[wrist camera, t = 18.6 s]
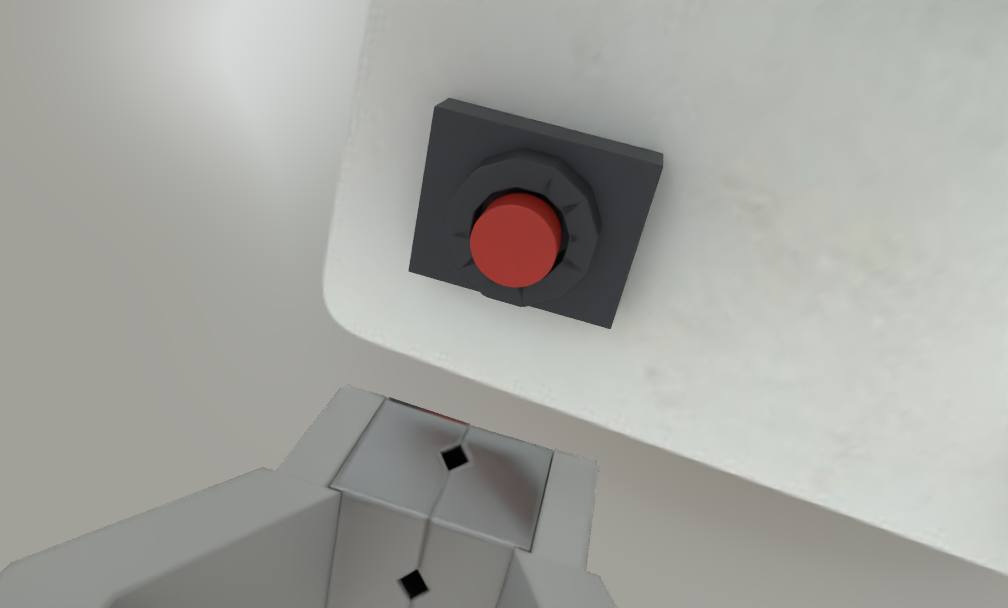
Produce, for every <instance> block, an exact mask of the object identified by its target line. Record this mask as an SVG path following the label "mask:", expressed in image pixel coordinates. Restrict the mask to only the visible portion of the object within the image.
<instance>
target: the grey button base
mask: <svg viewBox="0 0 1008 608" xmlns="http://www.w3.org/2000/svg"><path fill="white" fill-rule="evenodd" d="M662 168H663V154H662V153H658V152H655V151H651V150H647V149H643V148H639V147H635V146H632V145H628V144H624V143H620V142H616V141H612V140H609V139H605V138H601V137H597V136H593V135H589V134H585V133H582V132H578V131H574V130H570V129H566V128H562V127H559V126H555V125H551V124H547V123H543V122H539V121H536V120H532V119H528V118H524V117H520V116H516V115H513V114H509V113H505V112H501V111H497V110H493V109H490V108H486V107H482V106H478V105H474V104H470V103H466V102H463V101H459V100H455V99H451V98H448V99H446V100H445V101H443V102H441V103H440V104H438V105H436V106H435V107H434V113H433V120H432V126H431V132H430V139H429V145H428V151H427V157H426V164H425V170H424V176H423V183H422V189H421V195H420V202H419V208H418V214H417V221H416V227H415V233H414V240H413V246H412V252H411V259H410V265H409V272H413V273H416V274H420V275H423V276H427V277H430V278H434V279H437V280H440V281H444V282H447V283H451V284H454V285H458V286H461V287H465V288H468V289H472V290H475V291H479V292H480V293H482V294H483V295H484V296H486V297H488V298H492V299H495V300H499V301H502V302H506V303H509V304H513V305H516V306H520V307H522V306H523V307H525V306H531V307H535V308H538V309H542V310H545V311H549V312H552V313H556V314H559V315H563V316H566V317H570V318H573V319H577V320H580V321H584V322H587V323H591V324H594V325H598V326H601V327H605V328H608V329H611V326H612V323H613V320H614V317H615V314H616V311H617V308H618V305H619V302H620V298H621V295H622V292H623V289H624V286H625V283H626V280H627V277H628V274H629V271H630V267H631V264H632V261H633V258H634V255H635V252H636V249H637V246H638V243H639V240H640V237H641V233H642V230H643V227H644V224H645V221H646V218H647V215H648V212H649V209H650V206H651V202H652V199H653V196H654V193H655V190H656V187H657V184H658V181H659V178H660V175H661V171H662ZM510 193H526V194H530V195H533V196H536V197H538V198H540V199H542V200H543V201H545V202H546V203H547V204H548V205H549V206H550V207H551V208H552V209H553V210H554V212H555V213H556V215H557V217H558V219H559V221H560V224H561V228H562V241H561V246H560V249H559V251H558V254H557V257H556V259H555V262H554V264H553V266H552V268H551V270H550V271H549V272H548V274H547V275H546V276H545V277H544V278H542V279H541V280H540V281H538V282H536V283H534V284H532V285H529V286H525V287H508V286H503V285H501V284H498V283H496V282H494V281H492V280H491V279H489V278H488V277H487V276H485V275H484V274H483V273H482V272H481V271H480V269H479V268H478V267H477V265H476V263H475V261H474V259H473V257H472V253H471V248H470V238H471V233H472V230H473V227H474V225H475V223H476V222H477V220H478V219H479V218H480V216H481V215H482V214H483V212H484V211H485V210H486V208H487V207H488V206H489V205H490V204H491V203H492V202H493V201H494V200H496V199H497V198H499V197H501V196H503V195H506V194H510Z"/></svg>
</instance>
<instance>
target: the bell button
mask: <svg viewBox="0 0 1008 608" xmlns="http://www.w3.org/2000/svg"><path fill="white" fill-rule="evenodd" d="M561 241H562V228H561V224H560V221H559V219H558V217H557V215H556V213H555V212H554V210H553V209H552V208H551V207H550V206H549V205H548V204H547V203H546V202H545V201H543V200H542V199H540V198H538V197H536V196H533V195H530V194H526V193H510V194H506V195H503V196H501V197H499V198H497V199H496V200H494V201H493V202H492V203H491V204H490V205H489V206H488V207H487V208H486V210H485V211H484V212H483V214H482V215H481V216H480V218H479V219H478V220H477V222H476V223H475V225H474V227H473V230H472V233H471V238H470V248H471V253H472V257H473V259H474V261H475V263H476V265H477V267H478V268H479V269H480V271H481V272H482V273H483V274H484V275H485V276H487V277H488V278H489V279H491V280H492V281H494V282H496V283H498V284H501V285H503V286H508V287H525V286H529V285H532V284H534V283H536V282H538V281H540V280H541V279H542V278H544V277H545V276H546V275H547V274H548V272H549V271H550V270H551V268H552V266H553V264H554V262H555V259H556V257H557V254H558V251H559V249H560V246H561Z"/></svg>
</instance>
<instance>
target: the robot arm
mask: <svg viewBox="0 0 1008 608" xmlns="http://www.w3.org/2000/svg"><path fill="white" fill-rule="evenodd" d="M598 471H599V465H598V463H597V461H596V460H593V459H590V458H586V457H582V456H579V455H575V454H572V453H568V452H564V451H561V450H557V449H554V451H553V450H552V449H549V448H545V447H542V446H539V445H536V444H532V443H529V442H525V441H522V440H519V439H515V438H512V437H509V436H506V435H503V434H499V433H496V432H492V431H489V430H486V429H483V428H479V427H476V426H473V425H470V424H468V423H465V422H462V421H459V420H456V419H453V418H450V417H447V416H444V415H441V414H438V413H435V412H432V411H429V410H426V409H423V408H420V407H417V406H414V405H411V404H408V403H405V402H402V401H399V400H396V399H393V398H387V397H385V396H383V395H380V394H377V393H373V392H370V391H367V390H364V389H361V388H358V387H355V386H351V385H347V386H345V387H343V388H341V389H339V390H338V392H337V393H336V394H335V395H334V397H333V398H332V399H331V400H330V402H329V403H328V404H327V406H326V407H325V408H324V410H323V411H322V412H321V413H320V415H319V416H318V417H317V419H316V420H315V421H314V422H313V424H312V425H311V426H310V428H309V429H308V430H307V432H306V433H305V434H304V435H303V437H302V438H301V439H300V441H299V442H298V443H297V445H296V446H295V447H294V448H293V450H292V451H291V452H290V453H289V455H288V456H287V457H286V459H285V460H284V461H283V463H282V464H281V465H280V467H279V468H278V469H277V470H276V471H273V470H270V469H267V468H263V467H262V468H259V469H257V470H254V471H252V472H249V473H246V474H244V475H241V476H239V477H236V478H233V479H230V480H228V481H225V482H223V483H220V484H217V485H215V486H212V487H209V488H207V489H204V490H201V491H199V492H196V493H193V494H191V495H188V496H185V497H183V498H180V499H178V500H175V501H172V502H170V503H167V504H164V505H162V506H159V507H156V508H154V509H151V510H148V511H146V512H143V513H141V514H138V515H135V516H133V517H130V518H127V519H125V520H122V521H119V522H117V523H114V524H112V525H109V526H106V527H104V528H101V529H98V530H96V531H93V532H91V533H88V534H85V535H83V536H80V537H77V538H75V539H72V540H69V541H67V542H64V543H61V544H59V545H56V546H54V547H51V548H48V549H46V550H43V551H40V552H38V553H35V554H32V555H30V556H27V557H24V558H22V559H19V560H17V561H14V562H11V564H9V565H8V566H7V567H6V568H5V569H4V570H3V571H2V572H0V608H618V607H617V606H616V604H615V602H614V600H613V598H612V597H611V595H610V593H609V591H608V590H607V588H606V586H605V584H604V582H603V581H602V579H601V577H600V576H599V575H596V574H593V573H590V572H587V571H586V566H587V558H588V550H589V542H590V534H591V526H592V519H593V511H594V503H595V495H596V487H597V479H598Z"/></svg>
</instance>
